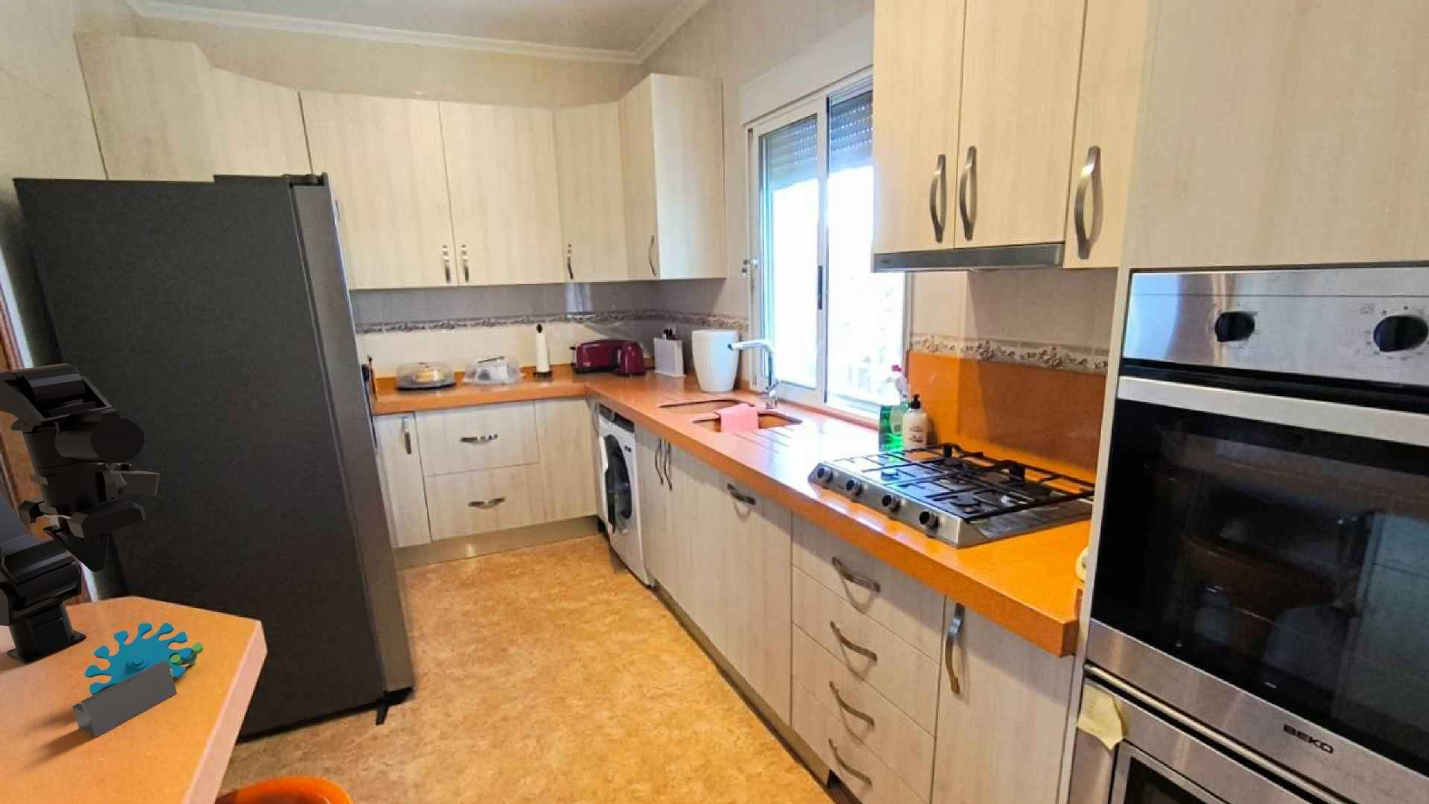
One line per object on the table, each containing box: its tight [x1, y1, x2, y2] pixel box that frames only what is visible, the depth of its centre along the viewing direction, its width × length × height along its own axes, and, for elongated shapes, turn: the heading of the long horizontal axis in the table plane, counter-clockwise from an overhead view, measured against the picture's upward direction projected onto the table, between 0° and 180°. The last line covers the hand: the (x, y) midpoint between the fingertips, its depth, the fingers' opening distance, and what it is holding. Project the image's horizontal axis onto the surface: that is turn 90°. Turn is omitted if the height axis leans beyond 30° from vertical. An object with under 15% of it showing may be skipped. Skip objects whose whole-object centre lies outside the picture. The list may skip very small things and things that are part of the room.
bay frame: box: [71, 661, 178, 738], centre depth 73 cm, size 4×8×4 cm, turn 156°
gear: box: [83, 621, 205, 696], centre depth 79 cm, size 11×6×10 cm
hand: (98, 570), depth 83 cm, fingers closed
